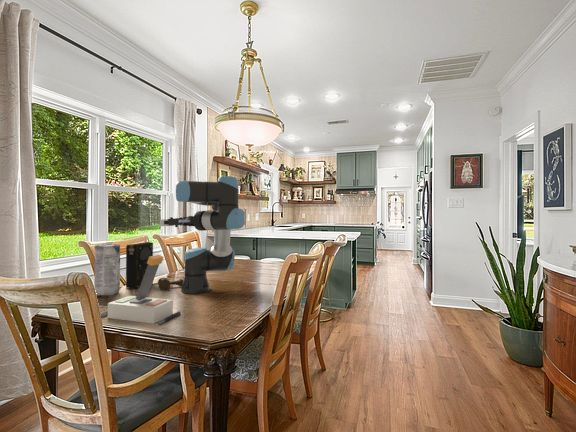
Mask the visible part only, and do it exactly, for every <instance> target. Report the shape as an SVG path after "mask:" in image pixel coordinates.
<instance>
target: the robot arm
mask: <svg viewBox="0 0 576 432" xmlns="http://www.w3.org/2000/svg"><path fill="white" fill-rule="evenodd" d="M175 200H176V201H177V202H182V203H192V204H195V205H200V206H206V207H207V206H211V209H210V210H198V211H196V212H195V213H194V215H188V216H184V217H183V216H182V217H177V218H176V217H175V218H173V216H171V217H169V218H165V219H159V227H175V228H178V227H179V226H183V227H194V228H195V229H196V230H197V231H203V232H204V231H211V232H212V233H213V245H212V246H211V248H210V249H209V250H208V248H207V247H195V248H190V249H187V250H186V251H185V252H184V277H183V279H184V280H183V283H182V286H180V289H181V290H180V292H181V293H184V294H188V295H189V294H190V295H194V294H203V293H207V292H209V291H210V290H211V289H210V287H211V286H210V283H209V279H208V277H207V272H226V271H231V270H232V269H233V267H234V265H235V257H236V253H235V250H234V249H233V247H232V246H231V233H232V232H231V231H232V230H239V229H242V228H243V227H245V210H243V209H242V208H240V207H239V180H238V178H236V177H235V176H230V175H221V176H219V177H218V179H217V181H195V180H178V181H177V182H176V184H175Z"/></svg>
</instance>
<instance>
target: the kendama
mask: <svg viewBox="0 0 576 432" xmlns="http://www.w3.org/2000/svg"><path fill="white" fill-rule="evenodd" d="M183 280H184V278H179V279H177V280H173V281H170V280H169V279H168V278H167V277H160V278H159V279H157V282H154V283H152V286H157V285H158V289H160V290H161V291H167V290H169V288H170V287H171V285H173V286H174V285H175V286H179V287H181V286H182V283H183Z"/></svg>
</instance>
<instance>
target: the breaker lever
mask: <svg viewBox="0 0 576 432" xmlns="http://www.w3.org/2000/svg"><path fill="white" fill-rule="evenodd" d="M163 260H164V256H162V255H161V254H155V255H153V256H150V257H149V259H148V262H147V264H148V266H147V269H146V272H145V274H144V277H143V280H142V283H141V285H140V288H138V290H137V294H136V299H137V300H138V301H139V300H142V299H144V298H147V297H148V296H149V293H150V290H151V288H152V286H153V285H152V284H153V282H154V280H155V277H156V274H157V271H158V269H159V267H160V265H161V264H162V263H163Z"/></svg>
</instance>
